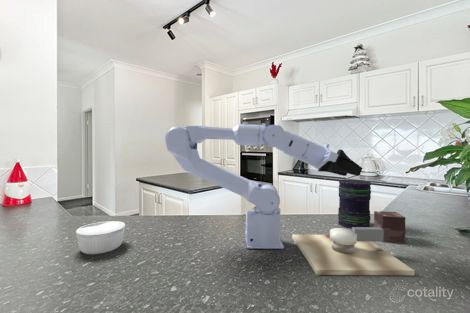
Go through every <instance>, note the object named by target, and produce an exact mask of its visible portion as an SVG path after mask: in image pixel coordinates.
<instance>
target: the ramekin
mask: <svg viewBox="0 0 470 313" xmlns="http://www.w3.org/2000/svg"><path fill="white" fill-rule="evenodd" d="M125 230H126V223H125V222H123V221H115V220H113V221H112V220H109V221H98V222H93V223H89V224H85V225H83V226H80V227H79V228H77V229H76V230H75V236H76V238H77V243H78V248H79V251H80V252H81V253H83V254H86V255H101V254H106V253H109V252H113V251H114V250H116V249H118V248H119V247H120V246H121V245H122V244H123V240H124V236H125Z"/></svg>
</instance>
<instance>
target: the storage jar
mask: <svg viewBox="0 0 470 313" xmlns="http://www.w3.org/2000/svg"><path fill="white" fill-rule="evenodd" d="M338 184H339V185H338V194H337V195H338V198H339V200H338V201H339V205H338V212H337V217H338V223H337V224H338V225H339V226H340V227H343V228H344V229H348V228H350V229H349V230H352V227H371V225H370V224H371V210H370V206H371V205H370V204H371V202H370V201H371V199H372V196H371V194H372V189H371V188H372V187H371V185H372V183H371V181H365V180H358V179H340V180H338Z"/></svg>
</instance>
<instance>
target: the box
mask: <svg viewBox="0 0 470 313" xmlns="http://www.w3.org/2000/svg"><path fill="white" fill-rule="evenodd" d="M406 218H407V217H406V216H403V215H401V214H400V213H399V212H396V211H383V210H374V211H373V227H380V228H382V229H384V237H383V242H386V243H399V244H405V243H406V220H407V219H406ZM383 242H382V243H383Z"/></svg>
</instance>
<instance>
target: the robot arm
mask: <svg viewBox="0 0 470 313" xmlns="http://www.w3.org/2000/svg"><path fill="white" fill-rule="evenodd" d="M248 122H249V121H243V122H242V123H238V124H237V125H236V126H234V127H232V128H231V127H218V126H210V125H209V126H208V125H207V126H206V125H186V126H185V125H184V126H183V127H181V126H173V127H172V126H171V128H169V129H168V130H167V131H166V133H165V136H164V137H165V138H164V139H165V145H166V148H167V151H168V152H169V153H170V154H171V155H173V157H174V158H175V160H176V161H177V162H178V164H179V166H180V167H181V168H182V170H184V171H185V172H187V173H189V174H192V175H193V176H197V177H199V178H201V179H202V180H205V181H207V182H210V183H212V184H214V185H217V186H218V187H221V188H223V189H225V190H227V191H230V192H231V193H234V194H237V195H239V196H241V197H243V198H244V200H246V201H247V202H248V203H251V204H253V205H254V207H253V209H252V210H250V209H249V210H246V211H245V230H244V238H245V242H246V243H245V244H246V248H247V249H265V250H267V249H269V250H270V249H271V250H273V249H276V250H277V249H281V250H283V249H285V245H284V244H283V242H282V240H281V208H279V207H280V204H281V199H280V195H279V193H278V192H279V191H278V190H277V188H276V187H275V186H274V185H272V184H270V183H260V182H258V181H255V180H251V179H248V178H246V177H244V176H241V175H239V174H237V173H234V172H232V171H231V170H227V169H225V168H223V167H221V166H218V165H216V164H214V163H211V162H210V161H207V160H205V159H203V158H201V157H200V154H199V151H198V144H201V143H203V142H204V141H205V140H224V141H225V140H226V141H227V140H228V141H231V140H232V141H233V142H234V143H235V144H236V145H238V146H249V147H250V146H252V147H261V146H262V145H265V146H266V147H267V148H275V149H277V150H279V151H281V152H283V154H286V155H288V156H290V157H291V158H294V159H296V160H299V161H301V162H303V163H305V164H307V165H309V166H312V167H313V168H315V169H316V170H317V172H324V173H330V174H331V173H332V174H335V175H338V176H343V177H347V175H348V174H349V175H353V176H357V177H358V176H360V175H361V174H362V170H363V167H362V166H360V165H359V164H358V163H357V162H355V161H353V160H352V159H351V158H350V157H349V156H348V155H347V154H346V153H345V151H344V150H343V149H341V148H340V149H338V150H337V152H334V151H333V150H330V148H329V147H330V144H328V143H325V144H324V146H322V145H321V144H318V143H315V142H313V141H311V140H309V139H306V138H305V137H302V136H300V135H297V134H296V133H291V131H287V130H284V128H283V126H282V125H280V124H270V125H267V124H266V122H265V123H264V122H263V123H262V122H261V124H249V123H248ZM266 125H267V126H266Z"/></svg>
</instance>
